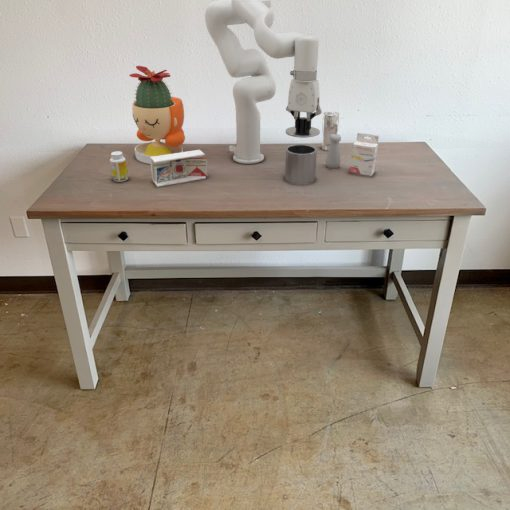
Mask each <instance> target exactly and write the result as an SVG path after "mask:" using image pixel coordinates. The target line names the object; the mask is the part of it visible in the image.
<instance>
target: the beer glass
mask: <svg viewBox="0 0 510 510" xmlns="http://www.w3.org/2000/svg"><path fill="white" fill-rule="evenodd" d="M322 113H323V114H322V121H321V122H322V123H321V133H322V143H321V150H322V151H326V152H328V151H329V147H330V143H331V141H330V135H332V134H338V132H339V128H340V127H339V126H340V125H339V124H340V113H339V112H337V111H324V112H322Z"/></svg>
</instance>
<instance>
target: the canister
mask: <svg viewBox="0 0 510 510" xmlns="http://www.w3.org/2000/svg"><path fill="white" fill-rule="evenodd" d="M317 153H318V150H317V147H315V146H313V145H310V144H301V143H300V144H299V143H298V144H291V145H288V146H287V147H285V160H284V161H285V164H284V165H285V166H284V168H285V169H284V180H285V181H287V182H289V183H290V184H291V183H292V184H297V185H299V184H300V185H304V184H305V185H306V184H309V183H312V182H314V181H315V180H316V167H317Z"/></svg>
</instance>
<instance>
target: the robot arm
mask: <svg viewBox="0 0 510 510" xmlns="http://www.w3.org/2000/svg"><path fill="white" fill-rule="evenodd" d="M271 4H272V3H271V0H214V1H211V2H210V3H209V4H208V5H207V6H206V9H205V12H204V20H205V21H204V22H205V26H206V29H207V32H208V34H209V36H210V38H211V39H212V41H213V43H214V44H215V46H216V47H217V50H218V52H219V55H220V57H221V60H222V62H223V64H224V67H225V69H226V71H227V73H228V75H229V76H230V77H232V78H234V79H235V78H236V79H237V78H241V79H239V80H236V82H235V83H234V84H233V87H232V96H233V101H234V108H235V129H236V131H235V133H236V134H235V136H236V137H235V138H236V145H235V146H234V145H229V146H228V152H229V153H233V156H232V159H233V161H234V162H236V163H239V164H245V165H246V164H247V165H251V164H258V163H261V162H263V161H264V159H265V155H264V154H263V153H261V113H260V111H259V109H258V107H257V105H256V104H257V103H261V102H266V101H269V100H272V99H273V98H274V97H275V94H276V92H277V87H276V83H275V80H274V79H275V78H274V77H273V75H272V72H271V70H270V67H269V65H268V62H267V60H266V57H264V55H263V53H262V52H264V54H266V55H267V56H269V57H270V58H272V59H276V60H279V59H285V58H293V57H294V63H293V70H290V72H289V74H290V76H291V77H292V79H291V80H290V84H289V90H288V98H287V105H286V108H285V111H286V112H288V113H290V114H291V116H292V117H293V119H294V127H295V128H296V131H299V118H301V113H306V118H307V119H306V121H305V132H308V131H309V130H310V129H311V127H312V120H313V119H314V118H315V117H317V116H319V115H322V113H323V112H322V108H321V106H320V99H321V98H320V84H319V80H318V79H317V78H318V77H317V76H318V75H317V74H318V60H319V36H317V35H315V34H305V33H304V32H303V33H302V32H299V31H290V32H279V33H276V32H275V31H274V30H272V29H271V27H272V25H273V24H274V20H275V14H274V12H273V10H272V9H271ZM245 24H247V25H248V26H249V27H250V28H251V29H252V30H253V35H254V39H255V43H256V44H257V46H258V47H259V49H260V50H262V52H261V51H260V50H258V49H255V48H248V49H244V48H243V47H242V45H241V43H240V40H239V38H238V36H237V35H236V33H234V32H233V30H232V29H230V28H229V27H228V26H235V25H245Z"/></svg>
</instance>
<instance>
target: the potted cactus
mask: <svg viewBox="0 0 510 510" xmlns="http://www.w3.org/2000/svg"><path fill="white" fill-rule="evenodd" d="M135 68H136V70H137V71H139V72H141V73H142V74H143V75H142V74H140V73H131V74H129V77H131V78H137V80H138V81H139V83H138V85H137V86H136V89H134V91H135V93H134V95H135V96H134V99H135V100H133V103H132V105H131V107H132V109H131V110H132V118H133V121H134V123H135V125H136V127H137V128H138V130H137V131H136V137H137V139H139V140H140V141H143V143H139V144H138V145H136V146H135V147H134V155H135V159H136V160H137V161H139V162H141V163H144V164H149V165H151V162H150V157H153V156H160V155H167V154H174V153H180V152H184V148H183V147H182V145H184V143H185V141H186V136H185V131H184V130H183V125H184V122H185V109H184V103H183V100H182V99H181V98H179V97H176V96H171V94H172V93H173V92H170V88H169V87H170V85H168V84H167V82H166V80H165V78H171V73H169V72H168V70H167V69H164V70H162V71H158V72H157V73H156V70H154V69H153V70H152V71H151V70H150V69H149V68H148V66H142V65H136V66H135ZM153 140H154V141H153ZM162 140H164V142H163V141H162Z"/></svg>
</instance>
